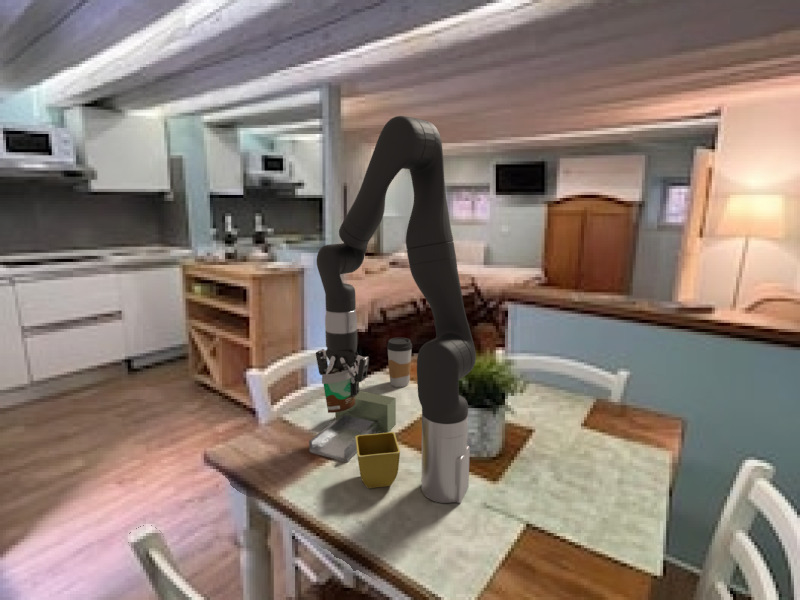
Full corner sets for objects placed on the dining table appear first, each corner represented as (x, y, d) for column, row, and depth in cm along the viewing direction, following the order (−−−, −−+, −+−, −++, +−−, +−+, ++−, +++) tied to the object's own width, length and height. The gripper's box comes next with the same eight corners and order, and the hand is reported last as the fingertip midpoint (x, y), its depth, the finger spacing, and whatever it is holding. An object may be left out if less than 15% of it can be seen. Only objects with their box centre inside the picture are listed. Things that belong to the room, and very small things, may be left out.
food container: (350, 416, 103) (346, 375, 101) (325, 415, 105) (321, 375, 103) (366, 394, 115) (363, 358, 113) (344, 394, 116) (340, 357, 114)
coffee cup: (417, 383, 149) (417, 340, 146) (400, 390, 143) (400, 346, 140) (399, 377, 155) (399, 335, 152) (382, 384, 149) (381, 341, 146)
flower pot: (358, 495, 91) (357, 456, 90) (356, 471, 100) (354, 434, 98) (400, 491, 93) (400, 452, 91) (394, 467, 101) (394, 431, 99)
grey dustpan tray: (395, 425, 121) (395, 397, 119) (357, 465, 102) (356, 433, 101) (345, 414, 127) (344, 388, 126) (300, 449, 109) (298, 419, 107)
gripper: (375, 327, 106) (375, 393, 110) (324, 320, 112) (326, 383, 116) (359, 335, 100) (361, 405, 103) (306, 328, 106) (309, 394, 109)
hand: (342, 393), depth 110 cm, fingers closed on food container, 5 cm apart
